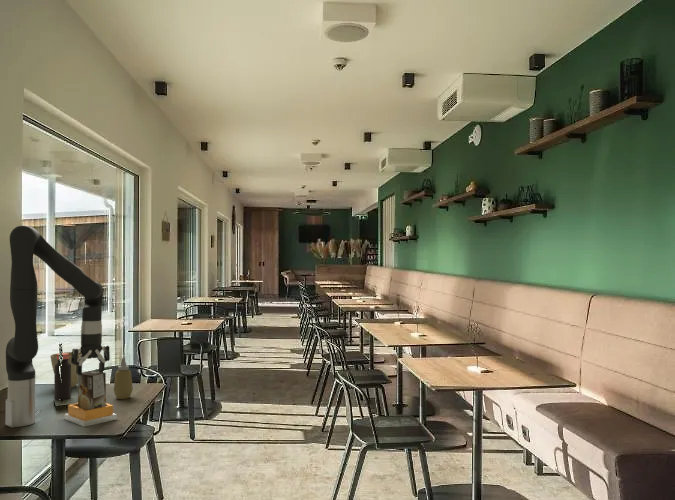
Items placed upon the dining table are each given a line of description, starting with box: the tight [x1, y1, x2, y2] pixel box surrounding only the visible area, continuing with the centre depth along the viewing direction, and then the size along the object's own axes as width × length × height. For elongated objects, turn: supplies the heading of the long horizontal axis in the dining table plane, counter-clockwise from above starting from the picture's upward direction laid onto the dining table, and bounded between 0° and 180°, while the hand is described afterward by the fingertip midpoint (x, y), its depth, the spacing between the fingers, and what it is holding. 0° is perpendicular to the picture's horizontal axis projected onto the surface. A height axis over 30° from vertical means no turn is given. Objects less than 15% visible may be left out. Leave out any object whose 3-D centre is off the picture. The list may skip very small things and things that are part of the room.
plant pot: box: [50, 351, 83, 389], centre depth 282 cm, size 15×15×16 cm
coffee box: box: [77, 370, 107, 410], centre depth 225 cm, size 9×6×16 cm
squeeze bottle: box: [113, 357, 134, 400], centre depth 259 cm, size 8×8×18 cm
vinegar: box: [53, 352, 72, 401], centre depth 258 cm, size 7×7×20 cm
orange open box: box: [63, 402, 118, 428], centre depth 225 cm, size 13×16×6 cm
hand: (90, 373), depth 225 cm, fingers open, 8 cm apart
